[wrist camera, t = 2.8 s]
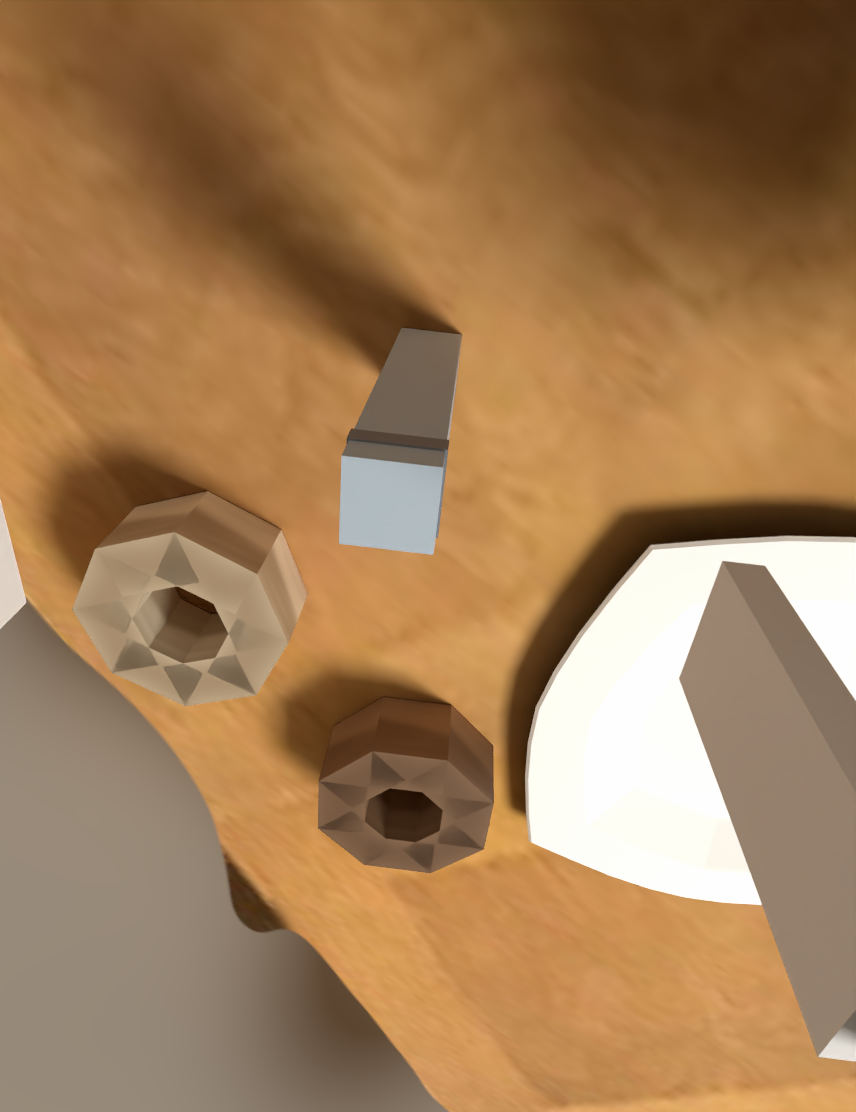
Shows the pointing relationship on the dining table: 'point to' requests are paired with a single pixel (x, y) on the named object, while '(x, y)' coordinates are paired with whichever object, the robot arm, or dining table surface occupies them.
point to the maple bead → (177, 626)
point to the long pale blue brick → (401, 447)
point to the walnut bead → (407, 786)
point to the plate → (664, 716)
